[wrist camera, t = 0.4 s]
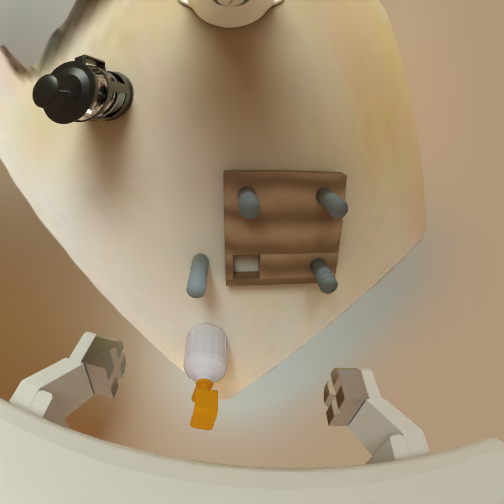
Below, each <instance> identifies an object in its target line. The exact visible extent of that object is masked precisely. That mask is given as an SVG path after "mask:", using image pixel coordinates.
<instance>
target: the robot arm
mask: <svg viewBox="0 0 504 504" xmlns="http://www.w3.org/2000/svg"><path fill="white" fill-rule="evenodd" d="M179 1H180V2H181V3H183V4H185V5H187V6H189V7H191V8H192V9H193V10H194V11H195V13H196V14H197V15H198V16H199V17H200V18H201V19H203V20H204V21H206V22H208V23H210V24H212V25H215V26H219V27H226V28H234V27H241V26H245V25H248V24H250V23H252V22H254V21H256V20H258V19H259V18H260V17H262V16H263V15H264V14H265V12H266V11H267V10H268V9H269V8H270V7H271V6H273V5H276V4H278V3H280V2H281V1H283V0H179ZM122 349H123V343H122V341H121V340H118V339H114V338H110V337H106V336H102V335H99V334H94V333H91V332H86V333H84V334H83V336H82V338H81V339H80V341H79V342H78V344H77V346H76V347H75V349H74V351H73V352H72V354H71V356H70V357H69V359H68V358H64V359H62V360H61V361H59V362H57V363H55V364H53V365H51V366H49V367H47V368H45V369H44V370H41V371H40V372H38V373H36V374H34V375H32V376H30V377H28V378H26V379H24V380H22V381H21V383H20V385H19V386H18V388H17V390H16V391H15V393H14V394H13V396H12V398H11V399H10V401H9V402H6V401H5V400H3V399H1V398H0V504H504V443H503V442H501V441H500V440H498V439H496V438H494V437H490V438H486V439H483V440H480V441H477V442H473V443H470V444H467V445H463V446H460V447H456V448H453V449H449V450H444V451H440V452H436V453H431V454H430V452H429V449H428V446H427V443H426V440H425V437H424V435H423V432H422V430H421V429H420V428H418V427H417V426H416V425H415V424H414V423H413V422H411V421H410V420H409V419H408V418H407V417H405V416H404V415H403V414H402V413H401V412H400V411H398V410H397V409H396V408H395V407H394V406H393V405H392V404H390V403H389V402H388V401H387V400H386V399H382V398H381V396H380V393H379V390H378V387H377V384H376V381H375V378H374V376H373V373H372V370H371V369H370V368H364V369H363V368H359V369H357V368H334V369H333V371H332V373H331V378H332V379H331V380H329V381H327V383H326V385H325V389H324V403H325V404H326V405H327V406H328V407H329V408H328V410H327V412H326V414H327V420H328V425H329V426H348V427H349V428H350V429H351V431H352V432H353V433H354V434H355V436H356V437H357V438H358V439H359V440H360V442H361V443H362V444H363V445H364V447H365V448H366V449H367V450H368V451H369V452H370V454H371V455H372V457H371V458H370V459H369V461H367V462H366V463H365V464H364V465H355V466H343V467H326V468H264V467H247V466H235V465H224V464H216V463H208V462H201V461H194V460H187V459H182V458H175V457H171V456H165V455H160V454H156V453H151V452H147V451H142V450H138V449H134V448H130V447H126V446H122V445H118V444H115V443H112V442H108V441H105V440H102V439H98V438H95V437H92V436H89V435H86V434H83V433H80V432H77V431H75V430H72V429H70V428H69V426H68V424H67V423H66V421H65V419H64V417H66V416H67V415H69V414H70V413H71V412H73V411H74V410H75V409H76V408H77V407H79V406H80V405H82V404H83V403H84V402H86V401H87V400H88V399H89V398H91V397H92V396H93V395H94V394H97V395H101V396H104V397H108V398H114V396H115V394H116V391H117V389H118V382H117V381H118V380H119V379H121V378H122V376H123V374H124V370H125V355H124V354H123V353H122Z"/></svg>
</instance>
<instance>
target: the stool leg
mask: <svg viewBox="0 0 504 504" xmlns="http://www.w3.org/2000/svg"><path fill="white" fill-rule="evenodd" d="M208 263H209V260H208V258H207V256H205V255H204V254H197V255H196V256H194V258H193V261H192V266H191V271H190V275H189V280H188V285H187V293H188V294H189V295H190V296H191V297H193V298H200V297H202V296H203V295H204V294H205V290H206V281H207V272H208Z"/></svg>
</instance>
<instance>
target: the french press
mask: <svg viewBox="0 0 504 504" xmlns="http://www.w3.org/2000/svg"><path fill="white" fill-rule="evenodd" d="M86 63H89V64H92V65H95V66H91V65H86ZM92 67H94V68H92ZM116 79H117V80H119V81H121V82H122V83H118V82H117V80H116ZM120 93H124V94H126V95H125V100H124V102H123V104H122V106H121V107H120V108H119V109H118V110H117V111H115V112H113V113H111V114H108V113H109V112H111V111H112V109H113V108H114V107H115V105H116V103H117V101H118V98H119V94H120ZM132 99H133V87H132V84H131V82H130V80H129V79H128V78H127V77H126V76H125V75H123V74H121V73H118V72H111V71H106V68H105V62H104V61H102V60H99V59H96V58H93V57H91V56H88V55H82V56H79V57H77V58H75V61H70V62H66V63H64V64H62V65H60V66H58V67H57V68H56V69H55V70H54V71H53V72H52V73H51V74H47V75H44V76H42V77H41V78H40V79H39V80H38V81H37V82H36V84H35V86H34V89H33V100H34V103H35V104H36V105H37V106H38V107H41V108H43V109H44V111H45V113H46V115H47V116H48V117H49V118H50V119H51V120H52V121H54V122H56V123H60V124H68V123H72V122H86V121H96V120H104V121H109V120H114V119H117V118H118V117H120V116H122V115H123V114H124V113H125V112H126V111H127V110H128V108H129V106H130V105H131V102H132ZM82 116H84V117H86V118H89V119H87V120H78V119H80V118H81V117H82Z"/></svg>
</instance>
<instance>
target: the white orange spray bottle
mask: <svg viewBox="0 0 504 504" xmlns="http://www.w3.org/2000/svg"><path fill="white" fill-rule="evenodd" d="M184 369H185V372H186V374H187V375H188V377H189V378H191V379H192V380H194V381H196V388H195V390H194V393H193V396H192V401H194V402H195V407H194V412H193V416H192V419H191V423H190V425H191V427H193V428H198V429H205V430H211V429H212V428H213V425H214V422H215V419H216V416H217V411H218V391H215V390H210V389H211V388H212V386H213V383H215V382H217V381H219V380H220V379H222V378H223V377H224V375H225V373H226V370H227V341H226V335H225V334H224V332H223V331H222V330H221V329H220V328H219V327H217V326H214V325H210V324H202V325H198V326H196V327H194V328H193V329H192V330H191V331H190V332H189V334H188V337H187V344H186V352H185V359H184Z"/></svg>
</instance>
